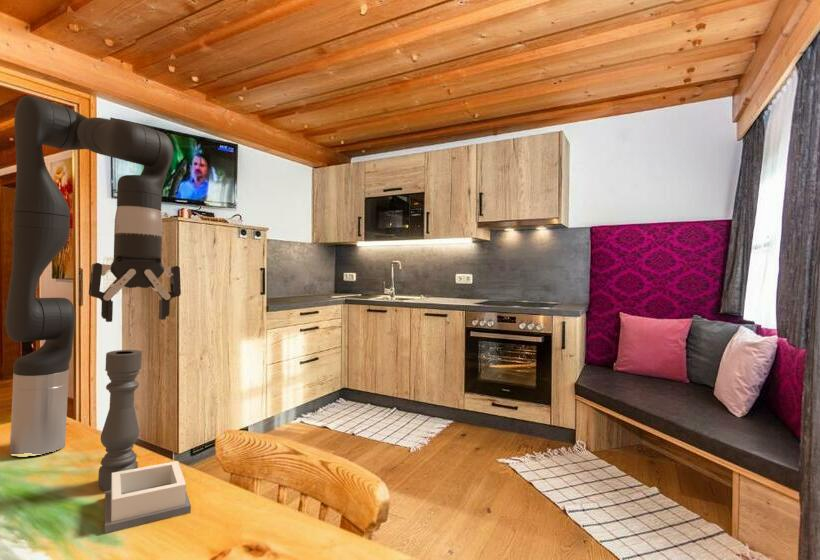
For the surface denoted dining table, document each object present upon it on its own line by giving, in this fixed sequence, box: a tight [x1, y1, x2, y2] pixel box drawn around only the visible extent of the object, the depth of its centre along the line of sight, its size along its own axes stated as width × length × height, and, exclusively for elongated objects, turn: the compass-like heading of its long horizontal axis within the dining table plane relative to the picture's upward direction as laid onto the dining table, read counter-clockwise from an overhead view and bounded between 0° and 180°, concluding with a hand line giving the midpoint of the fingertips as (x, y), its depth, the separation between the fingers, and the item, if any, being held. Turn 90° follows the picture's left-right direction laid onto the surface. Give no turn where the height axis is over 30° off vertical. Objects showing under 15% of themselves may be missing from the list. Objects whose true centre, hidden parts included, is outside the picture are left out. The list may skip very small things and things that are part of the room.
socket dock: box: [104, 460, 192, 534], centre depth 75 cm, size 12×12×5 cm
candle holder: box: [97, 349, 143, 492], centre depth 81 cm, size 6×6×25 cm
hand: (136, 320), depth 80 cm, fingers open, 8 cm apart
